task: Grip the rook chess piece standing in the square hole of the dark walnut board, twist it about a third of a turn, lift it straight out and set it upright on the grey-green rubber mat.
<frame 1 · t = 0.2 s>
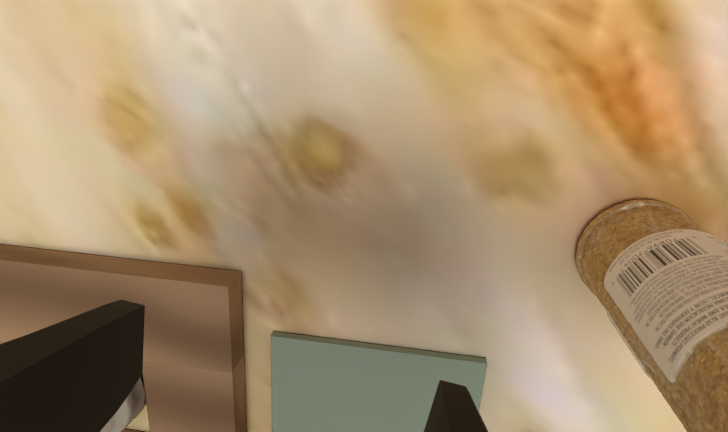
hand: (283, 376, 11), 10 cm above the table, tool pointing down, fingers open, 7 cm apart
socket board: (110, 383, 25), on the table
rubber mat: (370, 428, 24), on the table
sprinkles bottle: (631, 246, 19), on the table
rook chess piece: (112, 380, 26), resting in socket board
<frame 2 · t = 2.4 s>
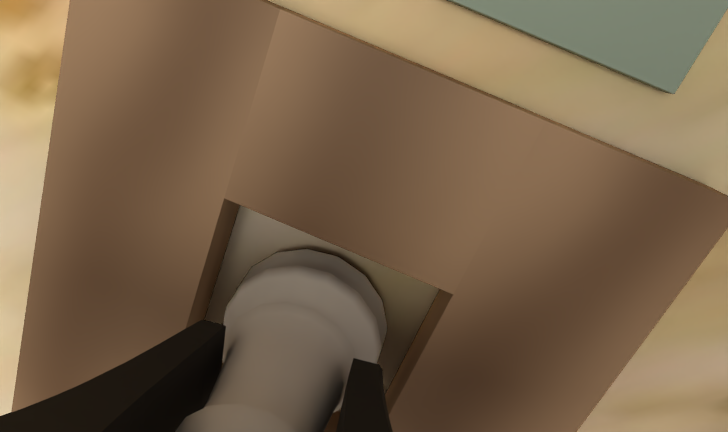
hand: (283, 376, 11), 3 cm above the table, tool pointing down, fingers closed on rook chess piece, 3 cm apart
socket board: (312, 312, 14), on the table
rook chess piece: (314, 309, 14), resting in socket board, touching gripper
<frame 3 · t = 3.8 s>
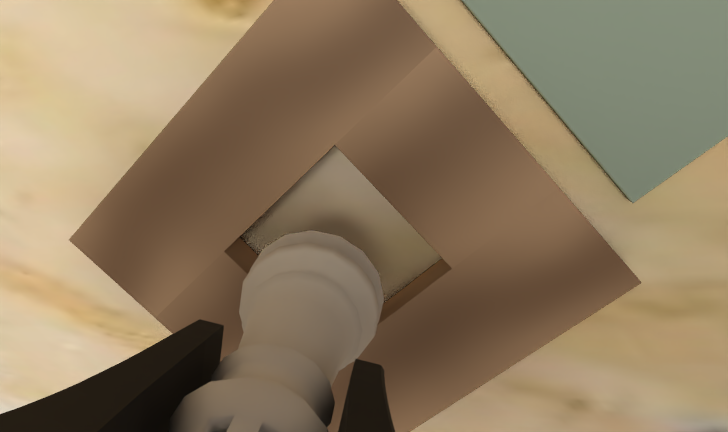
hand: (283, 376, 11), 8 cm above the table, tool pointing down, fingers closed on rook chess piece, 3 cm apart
socket board: (341, 244, 19), on the table
rook chess piece: (318, 286, 16), point 3 cm above the table, touching gripper
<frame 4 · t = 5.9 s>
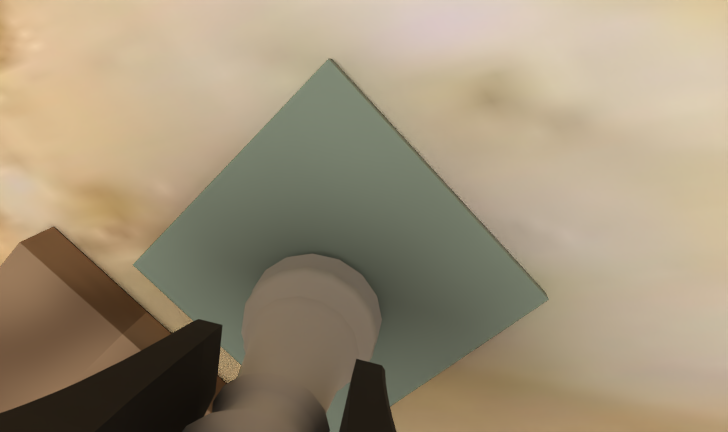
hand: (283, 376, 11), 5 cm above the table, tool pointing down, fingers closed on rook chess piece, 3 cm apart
rubber mat: (331, 276, 16), on the table
rook chess piece: (318, 306, 17), resting on rubber mat, touching gripper
when the fingers open (5 cm above the table, at t = 6.4 s): rook chess piece stays where it is, resting on rubber mat.
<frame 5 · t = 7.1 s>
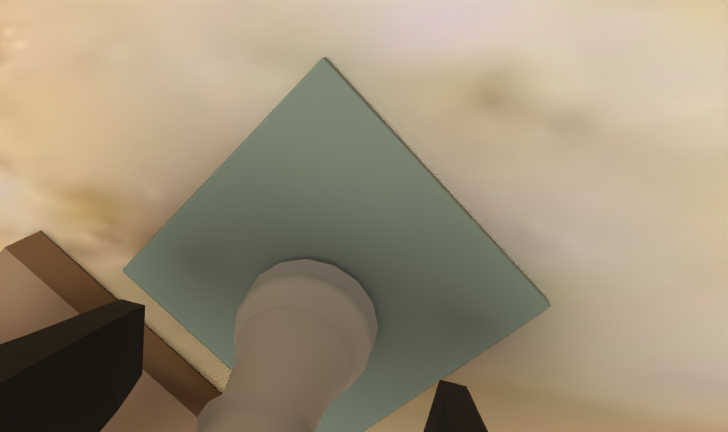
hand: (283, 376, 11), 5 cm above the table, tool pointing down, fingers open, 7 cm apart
rubber mat: (327, 281, 16), on the table
rook chess piece: (314, 311, 16), resting on rubber mat
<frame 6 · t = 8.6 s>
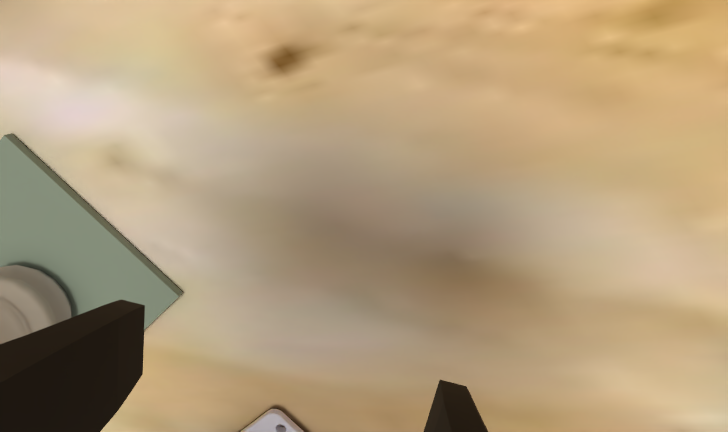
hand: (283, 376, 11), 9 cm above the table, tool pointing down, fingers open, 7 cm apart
rubber mat: (44, 280, 23), on the table
rook chess piece: (38, 300, 23), resting on rubber mat
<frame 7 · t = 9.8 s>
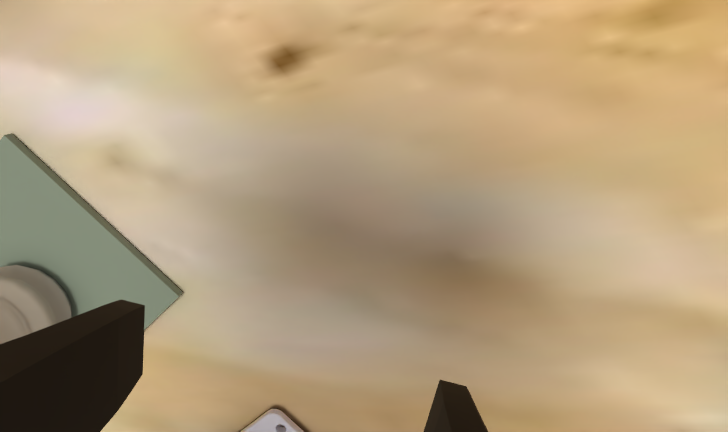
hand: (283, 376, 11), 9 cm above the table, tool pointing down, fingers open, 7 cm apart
rubber mat: (44, 280, 23), on the table
rook chess piece: (38, 300, 23), resting on rubber mat
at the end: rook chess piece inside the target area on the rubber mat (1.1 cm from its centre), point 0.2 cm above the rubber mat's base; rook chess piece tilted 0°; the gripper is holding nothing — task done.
